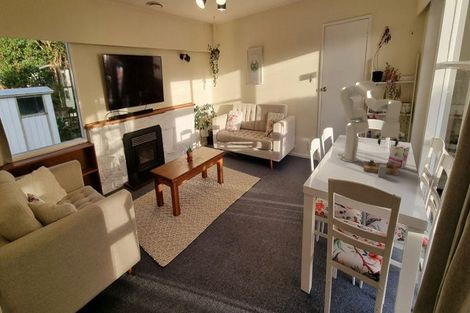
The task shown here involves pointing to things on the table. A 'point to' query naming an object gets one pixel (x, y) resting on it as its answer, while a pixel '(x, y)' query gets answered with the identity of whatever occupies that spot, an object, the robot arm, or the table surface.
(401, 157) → the candy bar box
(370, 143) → the table surface
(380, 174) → the plug
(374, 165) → the socket board
